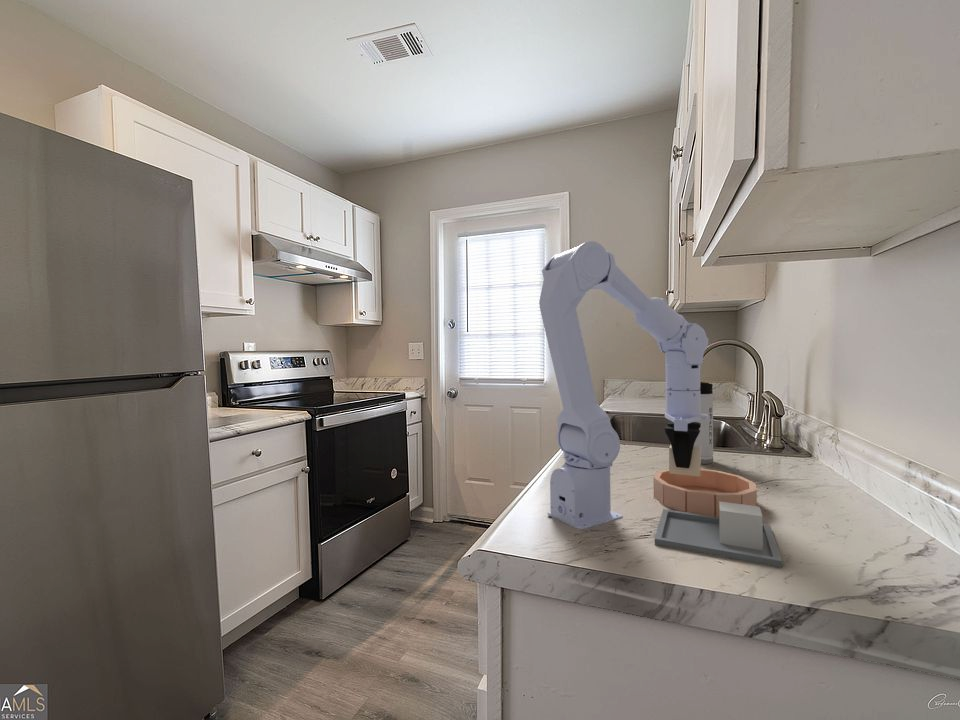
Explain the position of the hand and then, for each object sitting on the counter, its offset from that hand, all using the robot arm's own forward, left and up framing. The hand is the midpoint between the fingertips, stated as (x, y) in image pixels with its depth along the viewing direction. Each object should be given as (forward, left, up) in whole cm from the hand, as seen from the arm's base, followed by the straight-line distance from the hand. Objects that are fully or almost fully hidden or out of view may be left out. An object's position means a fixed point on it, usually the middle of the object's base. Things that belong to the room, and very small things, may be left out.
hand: (683, 464), depth 79 cm
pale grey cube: (-10, -15, -6) cm, 19 cm away
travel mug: (+28, +15, -7) cm, 32 cm away
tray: (-11, -13, -6) cm, 18 cm away
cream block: (0, 0, -1) cm, 1 cm away
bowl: (+2, -3, -6) cm, 7 cm away
